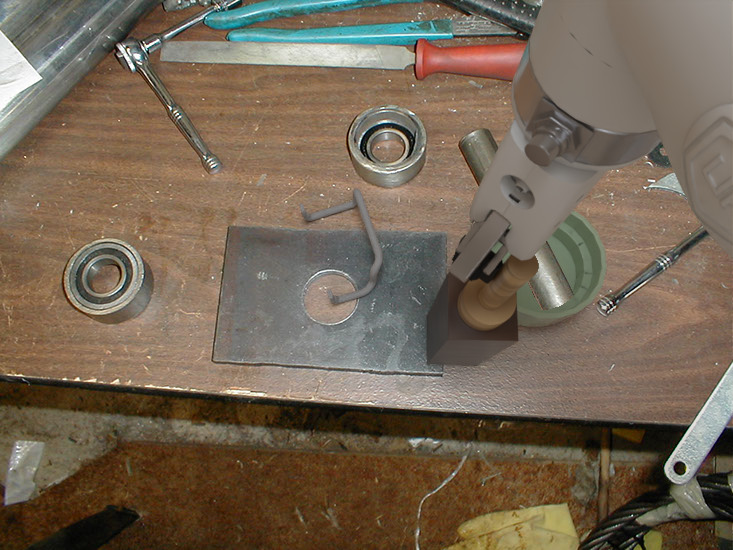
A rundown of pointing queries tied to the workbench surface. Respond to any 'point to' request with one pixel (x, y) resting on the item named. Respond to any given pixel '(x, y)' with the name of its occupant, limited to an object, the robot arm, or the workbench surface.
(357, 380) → the workbench surface
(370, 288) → the bracket
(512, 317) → the brown block
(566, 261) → the bowl
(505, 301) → the muddler
